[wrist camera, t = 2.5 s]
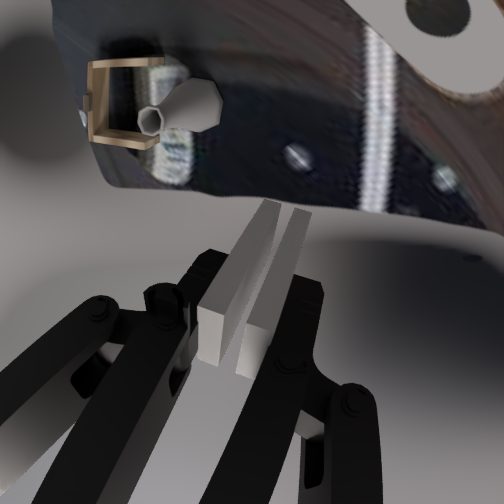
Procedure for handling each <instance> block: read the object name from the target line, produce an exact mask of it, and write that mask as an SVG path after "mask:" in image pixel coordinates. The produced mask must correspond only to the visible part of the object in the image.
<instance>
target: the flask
mask: <svg viewBox="0 0 504 504" xmlns="http://www.w3.org/2000/svg"><path fill="white" fill-rule="evenodd" d="M222 106H223V100H222V98H221V96H220V94H219V91H218V89H217V87H216V85H215V83H214V81H210V80H204V79H199V78H193V77H192V78H190V79H189V80H187V81H185V82H183V83H181V84H180V85H178V86H176V87H174V88H173V90H172V91H171V92H170V93H169V95H168V96H167V97H166V98H165V99H164V100H163V101H162V102H161V103H160V104H159V105H157V106H153V105H147V106H146V107H144V108H143V109H141V110H140V111H139V113H138V125H139V127H140V129H141V131H142V133H143V134H145V135H150V136H155V135H157V134H159V133H160V132H162V131H164V130H165V129H166V128H179V129H186V130H191V131H195V132H202V131H204V130H206V129H209V128H211V127H213V126H215V125H218V124H219V121H220V116H221V111H222Z"/></svg>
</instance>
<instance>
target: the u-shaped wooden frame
mask: <svg viewBox="0 0 504 504" xmlns="http://www.w3.org/2000/svg"><path fill="white" fill-rule="evenodd" d="M164 58H165V57H137V58H116V59H104V60H97V61H91V62H88V88H87V94H86V95H83V112H88V131H89V141H91V142H98V143H105V144H111V145H118V146H124V147H130V148H136V149H141V150H146V149H148V148H150V147H152V146H154V145H155V144H157V143H159V141H160V136H159V135H155V136H150V135H145V134H143V133H138V132H131V131H123V130H115V129H109V70H110V67H123V66H153V65H163V64H164Z"/></svg>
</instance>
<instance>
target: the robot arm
mask: <svg viewBox="0 0 504 504" xmlns="http://www.w3.org/2000/svg"><path fill="white" fill-rule="evenodd" d="M280 208H281V203H277V202H274V201H270V200H267V199H264V201H263V202H262V204H261V205H260V207H259V208H258V210H257V212H256V213H255V215H254V217H253V218H252V219H251V221H250V222H249V224H248V226H247V227H246V229H245V230H244V232H243V234H242V235H241V237H240V238H239V240H238V241H237V243H236V245H235V246H234V248H233V249H232V251H231V253H230V254H226V253H223V252H219V251H216V250H213V249H209V250H207V251H205V252H203V253H202V254H200V255H199V256H198V257H197V258H196V260H195V261H194V262H193V264H192V266H190V268H189V269H188V271H187V273H186V274H185V275H184V276H183V277H182V279H181V280H180V281H179V283H178V284H177V285H176V284H172V283H158V284H155V285H153V286H150V287H149V288H148V289H146V290H145V291H144V292H143V294H144V300H145V306H146V311H134V310H125V309H119V306H118V303H117V302H116V301H115V300H114V299H113V298H111V297H109V296H103V295H99V296H94V297H91V298H89V299H87V300H86V301H84V302H83V303H82V304H81V305H79V306H78V307H77V308H76V309H74V310H73V311H72V312H70V313H69V314H68V315H67V316H66V317H64V318H63V319H62V320H61V321H59V323H57V324H56V325H54V326H53V327H52V328H51V329H50V330H49V331H47V332H46V333H45V334H44V335H42V336H41V337H40V338H39V339H38V340H36V341H35V342H34V343H33V344H32V345H31V346H29V347H28V348H27V349H26V350H25V351H24V352H22V353H21V354H20V355H19V356H18V357H17V358H16V359H14V360H13V361H12V362H11V363H10V364H9V365H8V366H7V367H5V369H3V370H2V371H1V372H0V496H1V495H2V494H4V493H5V492H6V491H7V490H8V489H9V488H10V487H11V486H12V485H13V484H14V483H15V482H16V481H17V480H18V479H19V478H20V477H21V476H22V475H23V474H24V473H25V472H26V471H27V470H28V469H29V468H30V467H31V466H32V465H33V464H34V463H35V462H36V461H37V460H38V459H39V458H40V457H41V456H42V455H43V454H44V453H45V452H46V451H47V450H48V449H49V448H50V447H51V446H52V445H53V444H54V443H55V442H56V441H57V440H58V439H59V438H60V437H61V436H62V435H63V434H64V433H65V432H66V431H67V430H68V429H69V428H70V427H71V426H72V425H73V424H74V423H75V422H76V423H75V425H74V426H73V428H72V430H71V431H70V433H69V435H68V437H67V438H66V440H65V442H64V444H63V445H62V447H61V449H60V451H59V453H58V454H57V456H56V458H55V460H54V462H53V463H52V465H51V467H50V469H49V471H48V472H47V474H46V477H45V478H44V480H43V482H42V484H41V486H40V488H39V490H38V491H37V493H36V495H35V497H34V500H33V501H32V503H31V504H127V503H128V501H129V499H130V497H131V495H132V493H133V491H134V489H135V487H136V484H137V482H138V480H139V478H140V476H141V474H142V472H143V470H144V468H145V466H146V463H147V461H148V459H149V457H150V455H151V453H152V451H153V449H154V447H155V444H156V443H157V440H158V438H159V436H160V434H161V432H162V430H163V428H164V426H165V424H166V422H167V420H168V418H169V415H170V413H171V411H172V409H173V407H174V405H175V403H176V401H177V399H178V396H179V395H180V393H181V390H182V388H183V386H184V384H185V382H186V380H187V378H188V376H189V374H190V371H191V362H192V360H193V358H194V356H195V354H196V353H197V359H199V360H202V361H204V362H207V363H209V364H212V365H215V366H217V367H218V366H219V365H220V362H221V360H222V358H223V356H224V354H225V352H226V349H227V347H228V345H229V343H230V341H231V339H232V337H233V334H234V332H235V330H236V328H237V326H238V324H239V321H240V319H241V317H242V315H243V313H244V311H245V308H246V306H247V304H248V302H249V300H250V297H251V295H252V293H253V291H254V289H255V286H256V284H257V282H258V280H259V277H260V275H261V273H262V271H263V268H264V266H265V264H266V262H267V260H268V257H269V255H270V252H271V248H272V244H273V239H274V235H275V230H276V226H277V222H278V217H279V212H280ZM311 215H312V213H311V212H308V211H305V210H301V209H298V208H295V209H294V211H293V214H292V216H291V218H290V221H289V223H288V226H287V228H286V230H285V233H284V235H283V238H282V240H281V242H280V245H279V247H278V250H277V252H276V254H275V257H274V259H273V262H272V264H271V266H270V269H269V271H268V274H267V276H266V278H265V280H264V283H263V285H262V288H261V290H260V292H259V294H258V297H257V299H256V301H255V304H254V306H253V308H252V311H251V313H250V316H249V318H248V320H247V322H246V326H245V331H244V335H243V340H242V345H241V350H240V354H239V359H238V364H237V369H236V373H237V374H240V375H243V376H245V377H248V378H251V379H254V380H255V381H254V383H253V385H252V388H251V390H250V393H249V395H248V397H247V400H246V402H245V405H244V407H243V409H242V411H241V414H240V416H239V418H238V421H237V423H236V425H235V427H234V430H233V432H232V434H231V436H230V439H229V441H228V443H227V445H226V447H225V450H224V452H223V454H222V456H221V458H220V460H219V463H218V465H217V467H216V469H215V471H214V473H213V475H212V477H211V480H210V482H209V484H208V486H207V488H206V490H205V492H204V494H203V496H202V498H201V500H200V502H199V504H269V501H270V498H271V496H272V493H273V491H274V488H275V485H276V483H277V480H278V477H279V475H280V472H281V469H282V466H283V463H284V461H285V458H286V455H287V452H288V449H289V446H290V443H291V440H292V437H293V434H294V432H295V433H297V434H299V435H300V436H301V456H300V479H299V494H298V504H383V484H382V462H381V448H380V436H379V426H378V416H377V406H376V402H375V399H374V396H373V395H372V394H371V392H370V391H369V390H368V389H367V388H365V387H364V386H362V385H359V384H355V383H348V384H343V385H341V386H340V385H338V384H337V383H335V382H334V381H332V380H330V379H329V378H327V377H326V376H324V375H323V374H322V373H321V372H320V371H319V370H318V368H317V367H316V365H315V363H314V359H313V348H314V343H315V339H316V334H317V329H318V324H319V319H320V314H321V309H322V304H323V298H324V291H323V289H322V285H321V282H318V281H315V280H312V279H308V278H305V277H302V276H299V275H295V274H294V271H295V268H296V265H297V261H298V258H299V255H300V252H301V248H302V245H303V241H304V238H305V235H306V232H307V228H308V225H309V221H310V218H311Z"/></svg>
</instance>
